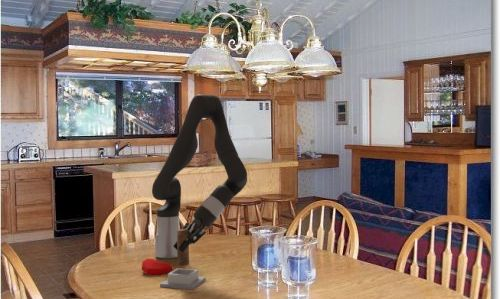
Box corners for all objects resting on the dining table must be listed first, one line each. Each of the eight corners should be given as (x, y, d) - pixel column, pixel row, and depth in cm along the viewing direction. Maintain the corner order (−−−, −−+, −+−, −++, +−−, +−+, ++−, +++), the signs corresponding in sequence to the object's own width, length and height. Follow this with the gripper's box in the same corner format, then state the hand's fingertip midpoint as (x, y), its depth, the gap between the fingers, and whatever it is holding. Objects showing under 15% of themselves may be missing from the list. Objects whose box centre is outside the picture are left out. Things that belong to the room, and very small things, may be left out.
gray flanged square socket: (160, 286, 186) (159, 275, 186) (174, 277, 197) (174, 266, 197) (192, 289, 183) (192, 277, 182) (205, 279, 194) (205, 268, 194)
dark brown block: (175, 265, 188) (175, 230, 188) (180, 262, 192) (179, 228, 192) (186, 266, 187) (185, 231, 187) (190, 263, 191) (190, 229, 191)
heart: (160, 282, 198) (174, 272, 207) (160, 271, 197) (175, 262, 206) (132, 274, 202) (147, 264, 211) (133, 263, 201) (148, 254, 210)
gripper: (194, 202, 199) (163, 239, 193) (210, 206, 186) (177, 246, 181) (207, 215, 202) (177, 252, 196) (224, 221, 189) (192, 260, 184)
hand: (177, 249), depth 189 cm, fingers closed on dark brown block, 4 cm apart
